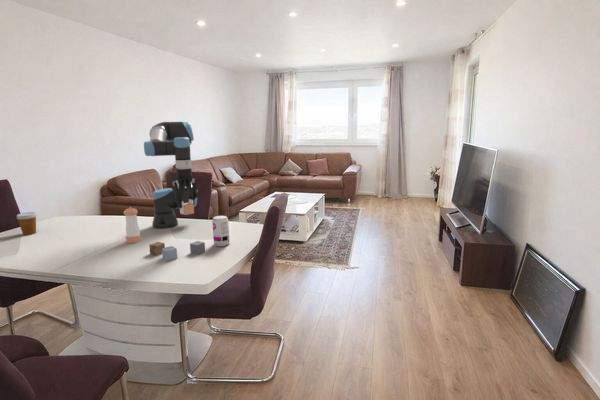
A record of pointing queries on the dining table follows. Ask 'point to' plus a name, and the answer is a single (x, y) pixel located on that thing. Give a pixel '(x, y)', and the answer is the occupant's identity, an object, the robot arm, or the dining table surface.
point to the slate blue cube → (169, 253)
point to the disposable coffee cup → (27, 222)
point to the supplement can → (220, 230)
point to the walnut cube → (156, 248)
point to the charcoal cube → (197, 247)
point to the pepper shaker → (132, 226)
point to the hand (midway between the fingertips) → (187, 212)
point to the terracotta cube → (188, 208)
